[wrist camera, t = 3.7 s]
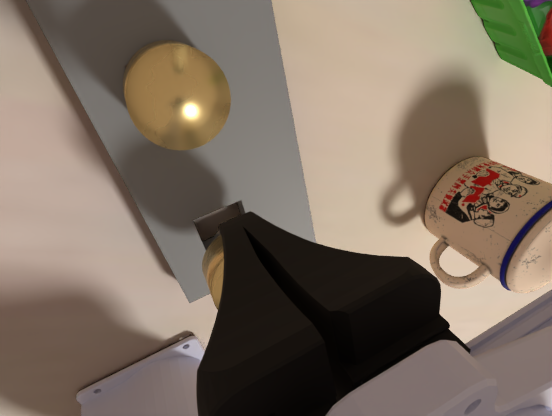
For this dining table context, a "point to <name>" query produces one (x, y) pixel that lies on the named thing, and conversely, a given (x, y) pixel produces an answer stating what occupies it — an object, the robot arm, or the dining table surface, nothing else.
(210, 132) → the brass knob
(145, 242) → the dining table surface
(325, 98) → the dining table surface
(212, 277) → the brass knob
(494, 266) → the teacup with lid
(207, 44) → the slate panel
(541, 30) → the fruit basket
